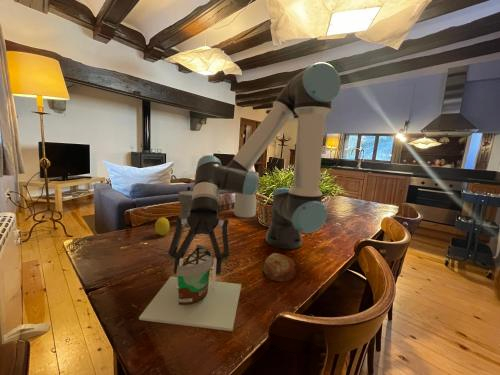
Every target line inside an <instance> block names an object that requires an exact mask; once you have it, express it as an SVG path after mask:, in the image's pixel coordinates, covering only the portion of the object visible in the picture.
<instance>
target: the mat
mask: <svg viewBox="0 0 500 375" xmlns="http://www.w3.org/2000/svg"><path fill="white" fill-rule="evenodd" d="M176 281H177V276H170V277H169V278H168V279H167V280H166V282H165V283H164V284H163V285H162V287H161V288H160V290H159V291H158V292H157V294H156V295H155V296H154V297H153V298H152V299H151V301H150V302H149V303H148V305H147V306H146V307H145V309H144V310H143V312H142V313H141V314H140V316H138V320H140V321H144V322H145V321H147V322H152V323H153V322H154V323H163V324H171V325H178V326H187V327H195V328H202V329H211V330H219V331H228V332H233V330H234V326H235V321H236V316H237V315H236V314H237V311H238V310H237V309H238V306H239V300H240V296H241V288H242V283H233V282H225V281H224V282H223V281H215V291H213V290H212V289H211V286H212V280H209V284H208V292H207V295H206V297H205V298H204V299H203V300H201V301H199V302H198V303H195V304H191V305H179V296H178V290H177V289H176Z"/></svg>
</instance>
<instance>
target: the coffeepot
mask: <svg viewBox="0 0 500 375" xmlns="http://www.w3.org/2000/svg"><path fill="white" fill-rule="evenodd" d="M186 189H187V190H183V191H181V190H180V191H178V193H177V195H178V201H179V207H180V211H179V214H178V218H180V219H187V217H188V216H189V214H190V209H191V202H192V195H193V190H191V186H187V187H186ZM185 227H190V226H189V224H188V223H187V224H186V225H185Z"/></svg>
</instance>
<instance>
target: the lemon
mask: <svg viewBox="0 0 500 375" xmlns="http://www.w3.org/2000/svg"><path fill="white" fill-rule="evenodd" d="M154 230H155V232H156V234H158V235H160V236H161V237H162V236H165V235H166V234H167V233H169V231H170V221H169V219H167V218H166V217H164V216H161V217H159V218H158V219H157V220H156V222H155V224H154Z"/></svg>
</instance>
